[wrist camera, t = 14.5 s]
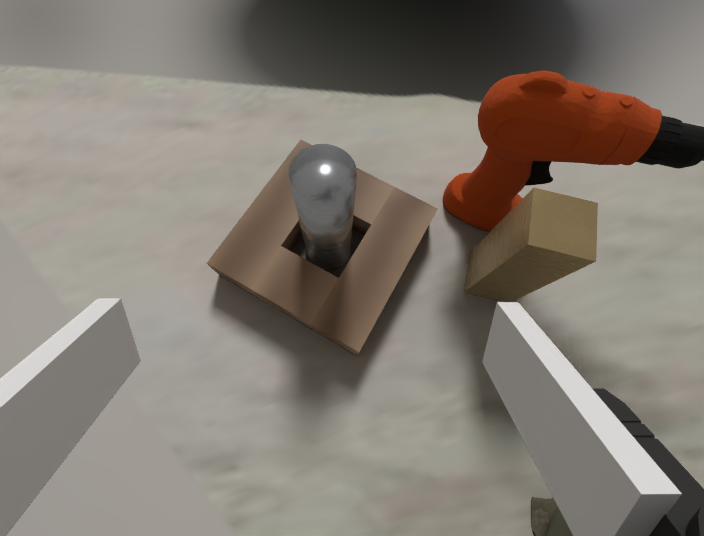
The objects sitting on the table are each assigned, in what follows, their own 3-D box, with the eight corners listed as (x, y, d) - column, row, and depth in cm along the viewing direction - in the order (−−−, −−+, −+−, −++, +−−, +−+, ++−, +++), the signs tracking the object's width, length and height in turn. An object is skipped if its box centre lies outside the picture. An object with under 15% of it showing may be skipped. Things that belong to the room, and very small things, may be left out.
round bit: (358, 241, 32) (368, 162, 21) (336, 277, 31) (334, 214, 19) (321, 222, 32) (311, 133, 21) (298, 256, 31) (275, 182, 20)
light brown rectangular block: (512, 262, 32) (597, 203, 21) (508, 303, 31) (596, 261, 20) (470, 251, 32) (533, 187, 22) (463, 291, 31) (528, 244, 20)
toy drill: (645, 279, 30) (870, 173, 16) (435, 218, 34) (472, 90, 20) (650, 232, 32) (860, 99, 18) (449, 178, 36) (492, 34, 22)
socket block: (429, 224, 33) (437, 208, 30) (357, 355, 29) (359, 352, 26) (303, 159, 35) (300, 139, 32) (218, 274, 30) (206, 263, 28)
